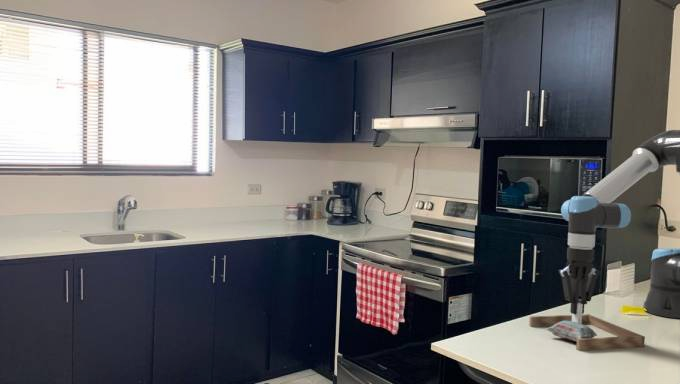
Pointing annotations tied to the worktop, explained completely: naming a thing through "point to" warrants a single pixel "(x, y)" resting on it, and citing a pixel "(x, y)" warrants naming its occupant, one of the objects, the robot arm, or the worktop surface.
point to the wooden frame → (621, 341)
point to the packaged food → (571, 330)
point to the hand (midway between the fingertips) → (576, 324)
